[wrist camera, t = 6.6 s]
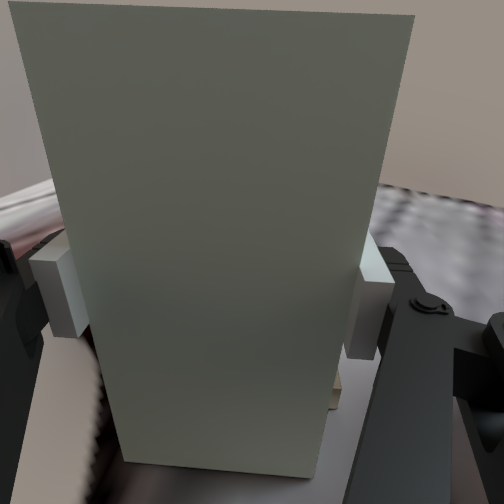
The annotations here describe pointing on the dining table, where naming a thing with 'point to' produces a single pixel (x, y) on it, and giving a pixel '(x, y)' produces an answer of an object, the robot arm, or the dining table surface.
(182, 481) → the dining table surface
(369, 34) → the flat rectangular panel
